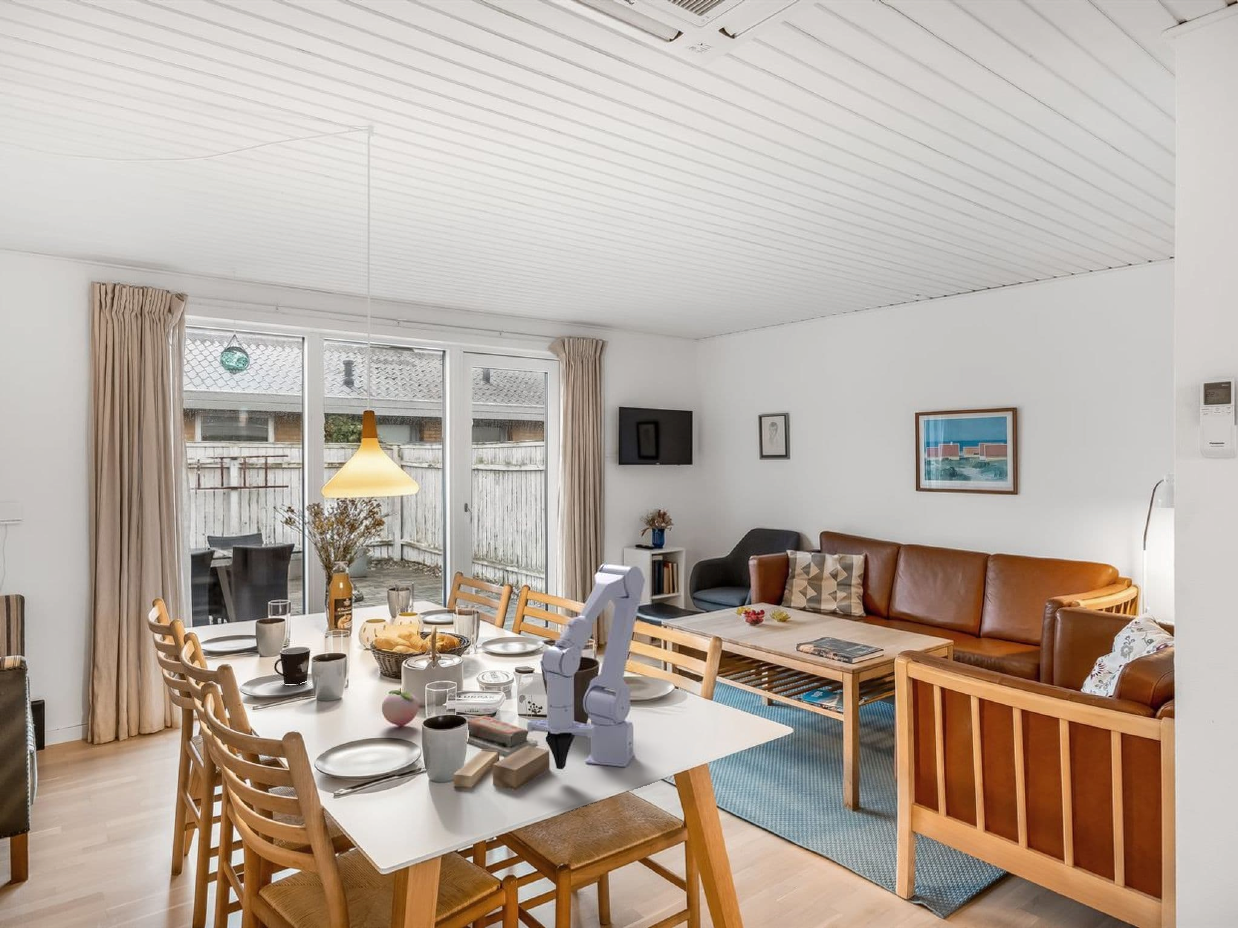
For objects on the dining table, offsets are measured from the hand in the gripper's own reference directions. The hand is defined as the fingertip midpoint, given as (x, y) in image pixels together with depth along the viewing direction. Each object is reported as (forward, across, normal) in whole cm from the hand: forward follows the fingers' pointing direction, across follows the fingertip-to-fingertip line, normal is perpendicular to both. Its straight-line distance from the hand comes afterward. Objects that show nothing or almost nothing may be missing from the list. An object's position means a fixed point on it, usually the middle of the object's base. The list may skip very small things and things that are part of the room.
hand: (560, 767), depth 164 cm
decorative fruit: (+3, -51, +20) cm, 55 cm away
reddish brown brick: (+4, -23, +17) cm, 29 cm away
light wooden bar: (+3, -19, -1) cm, 19 cm away
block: (+3, -9, 0) cm, 10 cm away
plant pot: (+3, -9, +32) cm, 33 cm away
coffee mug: (+3, -104, +45) cm, 113 cm away
